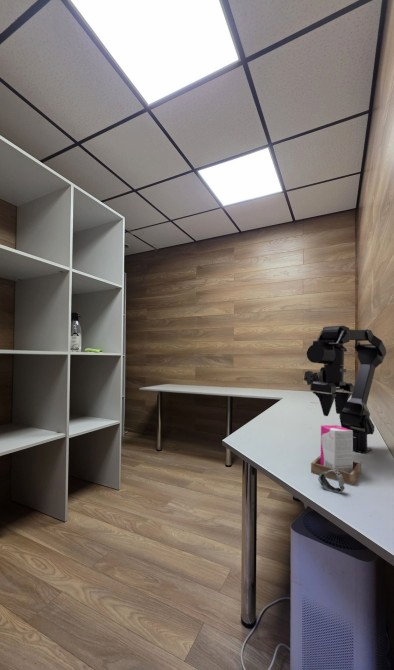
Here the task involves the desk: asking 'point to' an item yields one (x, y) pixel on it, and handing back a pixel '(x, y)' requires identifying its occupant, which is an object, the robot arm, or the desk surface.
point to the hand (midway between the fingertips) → (332, 414)
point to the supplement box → (337, 447)
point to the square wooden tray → (347, 477)
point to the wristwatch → (327, 485)
